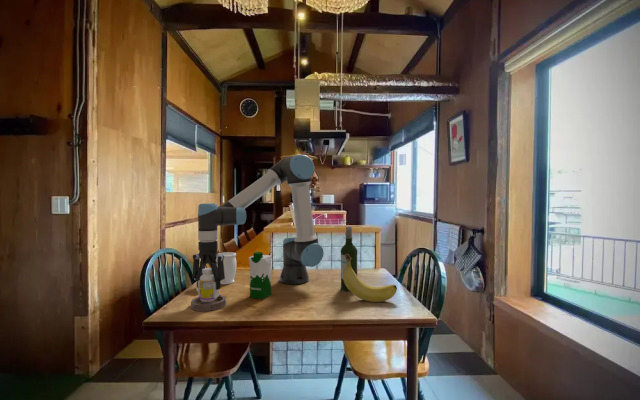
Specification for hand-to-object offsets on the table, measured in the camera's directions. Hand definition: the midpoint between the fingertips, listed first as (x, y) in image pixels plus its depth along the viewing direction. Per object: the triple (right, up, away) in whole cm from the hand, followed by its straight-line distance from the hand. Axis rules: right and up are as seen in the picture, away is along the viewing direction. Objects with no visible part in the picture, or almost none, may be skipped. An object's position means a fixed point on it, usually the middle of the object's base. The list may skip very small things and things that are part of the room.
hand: (208, 296), depth 133 cm
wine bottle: (+60, -3, +21) cm, 64 cm away
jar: (-3, -3, +35) cm, 35 cm away
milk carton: (+19, -4, +12) cm, 23 cm away
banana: (+67, -3, +4) cm, 68 cm away
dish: (0, -4, 0) cm, 4 cm away
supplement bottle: (0, -2, 0) cm, 2 cm away
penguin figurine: (-10, -4, +21) cm, 24 cm away
